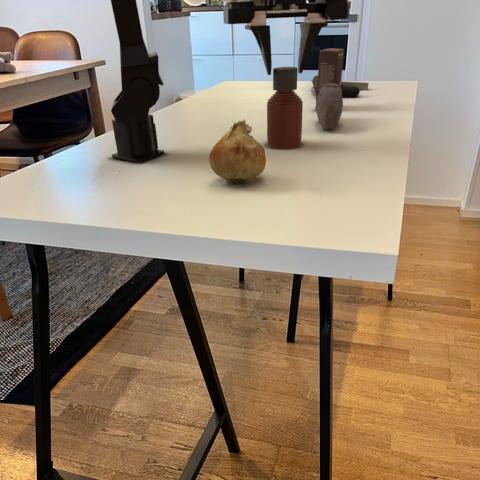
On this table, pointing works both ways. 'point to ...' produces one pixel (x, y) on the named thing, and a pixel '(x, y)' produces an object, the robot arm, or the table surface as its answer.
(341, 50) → the box
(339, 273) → the table surface
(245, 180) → the onion
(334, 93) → the perforated stone tool
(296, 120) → the bottle
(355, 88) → the door handle
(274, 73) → the cap
